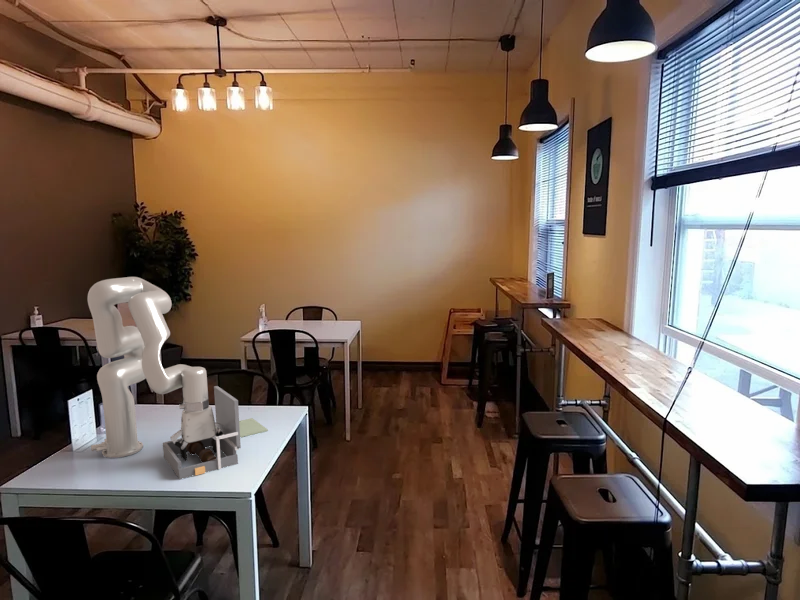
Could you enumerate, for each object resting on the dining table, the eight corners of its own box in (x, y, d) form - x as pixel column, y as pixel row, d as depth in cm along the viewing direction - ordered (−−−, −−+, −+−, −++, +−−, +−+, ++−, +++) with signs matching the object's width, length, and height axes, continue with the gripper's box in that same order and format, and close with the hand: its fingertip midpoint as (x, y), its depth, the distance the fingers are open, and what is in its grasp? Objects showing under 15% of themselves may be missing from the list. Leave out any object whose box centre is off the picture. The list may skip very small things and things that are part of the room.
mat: (225, 441, 192) (225, 439, 192) (211, 428, 204) (211, 427, 204) (267, 430, 201) (267, 429, 201) (252, 419, 214) (252, 418, 214)
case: (180, 480, 162) (175, 413, 159) (163, 456, 179) (158, 396, 176) (242, 463, 173) (238, 400, 170) (220, 442, 190) (217, 385, 188)
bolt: (210, 472, 171) (192, 457, 182) (223, 461, 174) (204, 446, 185) (200, 460, 168) (182, 445, 179) (214, 448, 171) (195, 434, 182)
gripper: (171, 413, 165) (175, 466, 167) (226, 402, 175) (230, 452, 178) (165, 407, 171) (169, 458, 174) (219, 397, 181) (222, 445, 184)
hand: (200, 455), depth 176 cm, fingers open, 9 cm apart
